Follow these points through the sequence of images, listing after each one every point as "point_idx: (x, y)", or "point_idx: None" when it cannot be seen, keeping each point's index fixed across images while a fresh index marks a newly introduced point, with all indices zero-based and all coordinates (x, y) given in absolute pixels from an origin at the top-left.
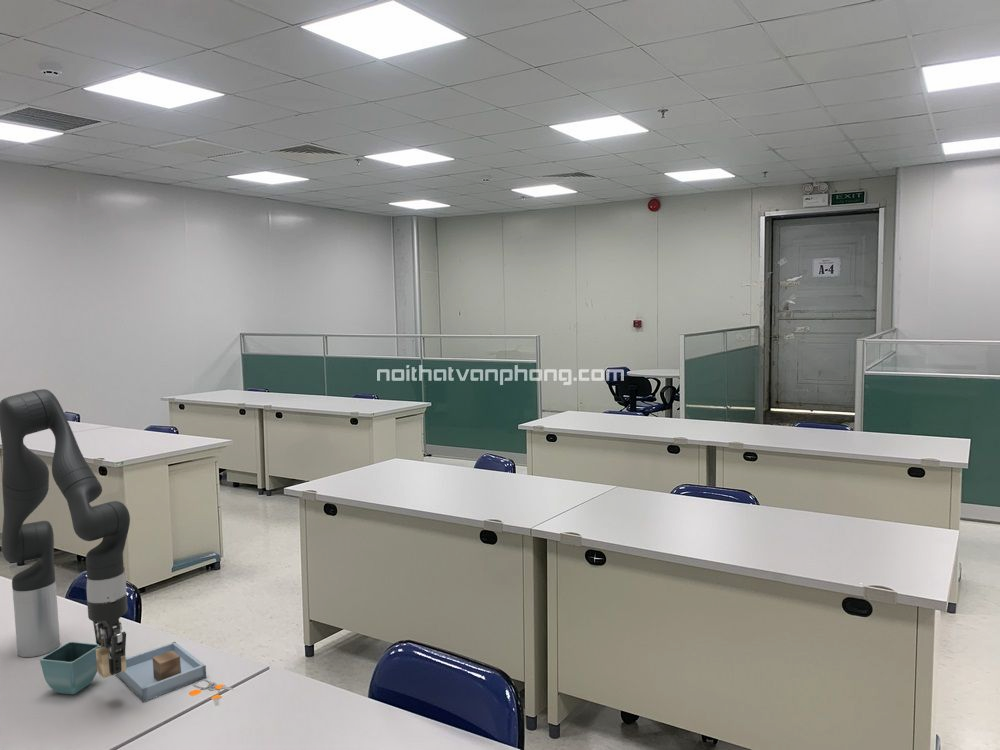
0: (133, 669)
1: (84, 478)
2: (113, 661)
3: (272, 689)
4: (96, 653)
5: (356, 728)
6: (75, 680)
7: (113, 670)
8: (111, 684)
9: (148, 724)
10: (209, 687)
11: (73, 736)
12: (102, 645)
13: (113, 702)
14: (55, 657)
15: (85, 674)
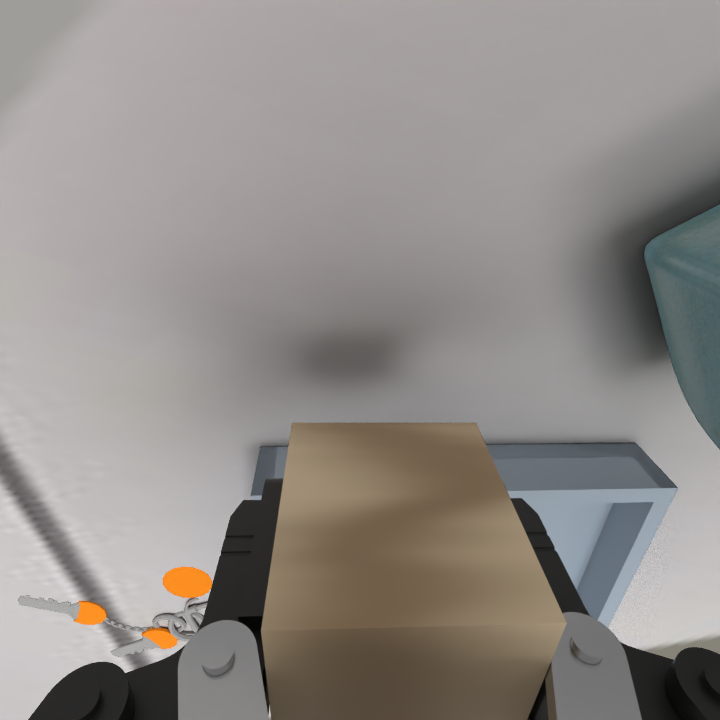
0: (570, 506)
1: None
2: (209, 610)
3: (26, 711)
4: (520, 571)
5: None
6: (669, 277)
7: (229, 521)
8: (561, 404)
9: (17, 401)
10: (176, 621)
11: (138, 67)
12: (551, 697)
13: (374, 358)
14: None
15: (685, 349)
